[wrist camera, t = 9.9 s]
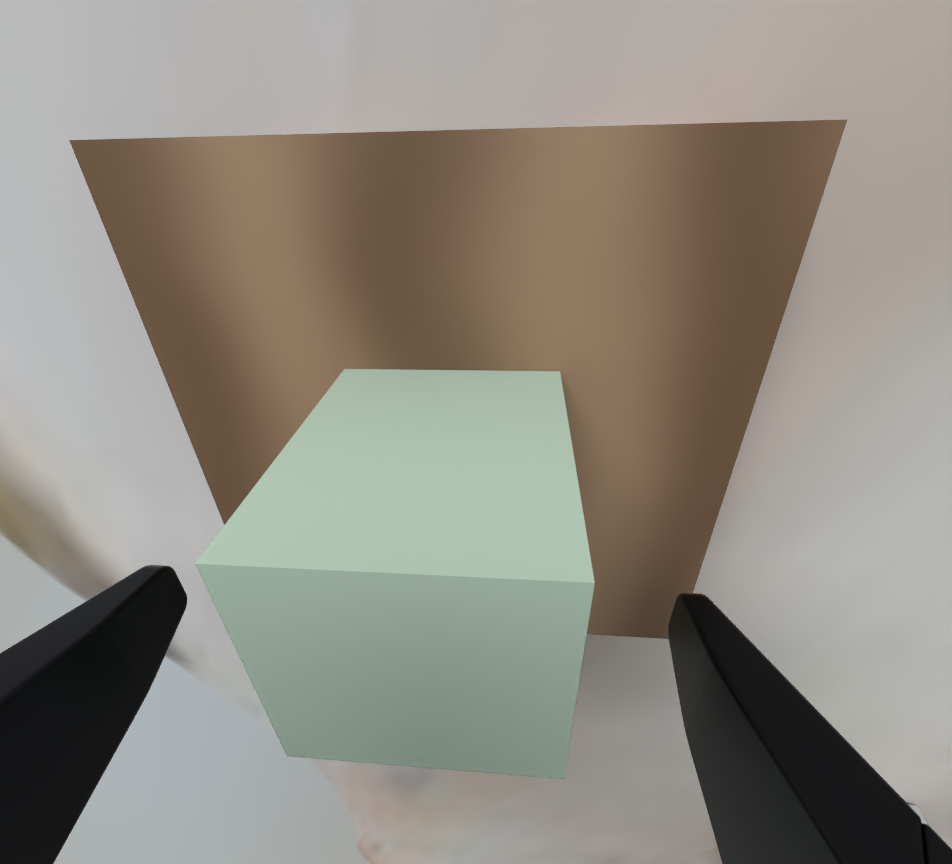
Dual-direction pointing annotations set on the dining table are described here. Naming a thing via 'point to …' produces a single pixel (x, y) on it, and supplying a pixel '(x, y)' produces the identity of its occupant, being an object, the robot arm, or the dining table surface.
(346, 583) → the green cube
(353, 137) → the walnut base
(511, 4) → the dining table surface
